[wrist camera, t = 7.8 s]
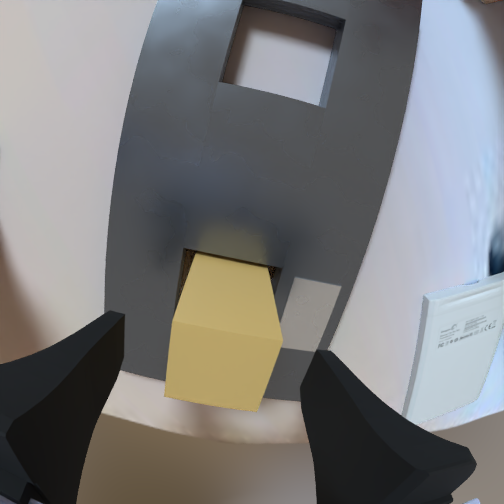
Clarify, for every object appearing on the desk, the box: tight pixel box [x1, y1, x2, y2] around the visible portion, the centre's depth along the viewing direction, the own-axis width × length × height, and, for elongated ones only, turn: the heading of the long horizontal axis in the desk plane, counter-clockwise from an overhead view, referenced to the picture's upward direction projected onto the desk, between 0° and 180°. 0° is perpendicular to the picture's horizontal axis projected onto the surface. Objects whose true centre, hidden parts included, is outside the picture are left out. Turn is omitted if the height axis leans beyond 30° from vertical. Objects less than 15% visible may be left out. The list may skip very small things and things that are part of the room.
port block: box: [104, 0, 422, 401], centre depth 14 cm, size 12×24×2 cm, turn 167°
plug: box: [164, 251, 283, 412], centre depth 13 cm, size 3×3×7 cm
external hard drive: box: [401, 272, 504, 425], centre depth 19 cm, size 2×8×12 cm
